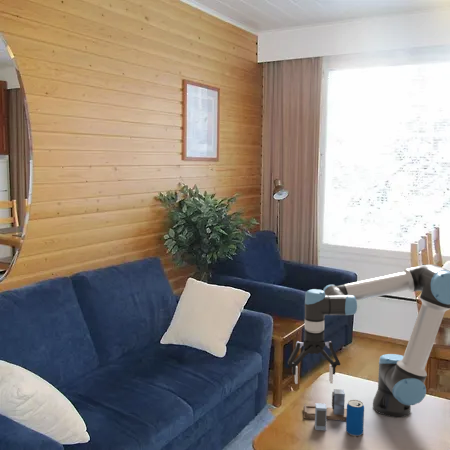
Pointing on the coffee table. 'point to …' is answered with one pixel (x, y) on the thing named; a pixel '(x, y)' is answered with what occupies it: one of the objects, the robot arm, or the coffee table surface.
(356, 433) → the beverage can
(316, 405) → the block
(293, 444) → the coffee table surface
